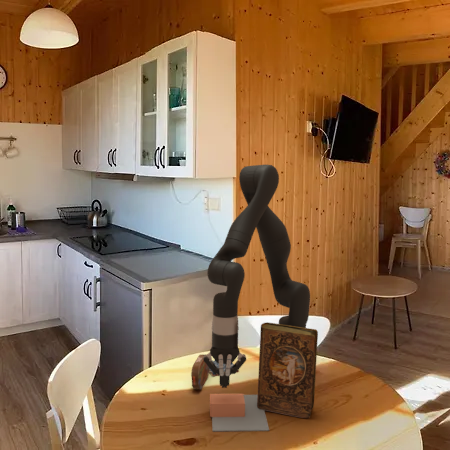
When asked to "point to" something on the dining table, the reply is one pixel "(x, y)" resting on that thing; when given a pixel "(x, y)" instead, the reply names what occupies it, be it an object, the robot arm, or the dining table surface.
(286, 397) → the book
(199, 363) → the tin
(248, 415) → the slate pad
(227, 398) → the terracotta block
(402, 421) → the dining table surface
